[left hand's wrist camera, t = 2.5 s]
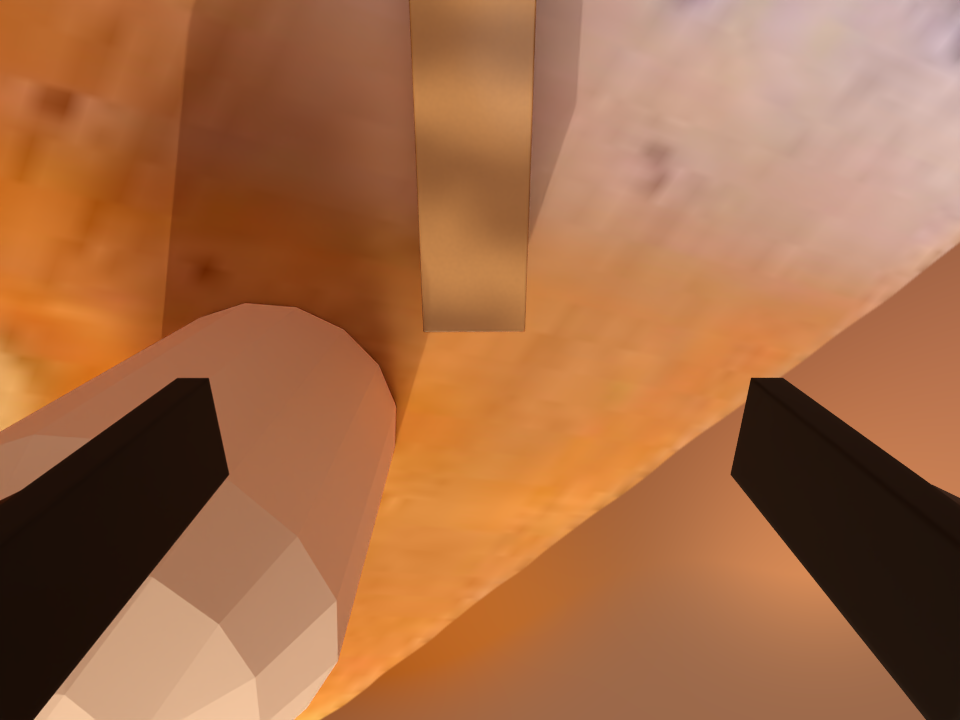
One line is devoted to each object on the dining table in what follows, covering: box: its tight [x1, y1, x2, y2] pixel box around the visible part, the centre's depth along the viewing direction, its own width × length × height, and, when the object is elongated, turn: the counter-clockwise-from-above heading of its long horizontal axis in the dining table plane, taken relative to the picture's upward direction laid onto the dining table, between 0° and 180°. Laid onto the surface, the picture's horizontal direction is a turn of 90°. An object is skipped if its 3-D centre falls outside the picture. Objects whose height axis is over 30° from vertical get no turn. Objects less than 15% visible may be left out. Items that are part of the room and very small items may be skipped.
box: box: [409, 0, 536, 332], centre depth 31 cm, size 27×6×11 cm, turn 0°
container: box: [0, 303, 396, 720], centre depth 31 cm, size 21×21×28 cm
